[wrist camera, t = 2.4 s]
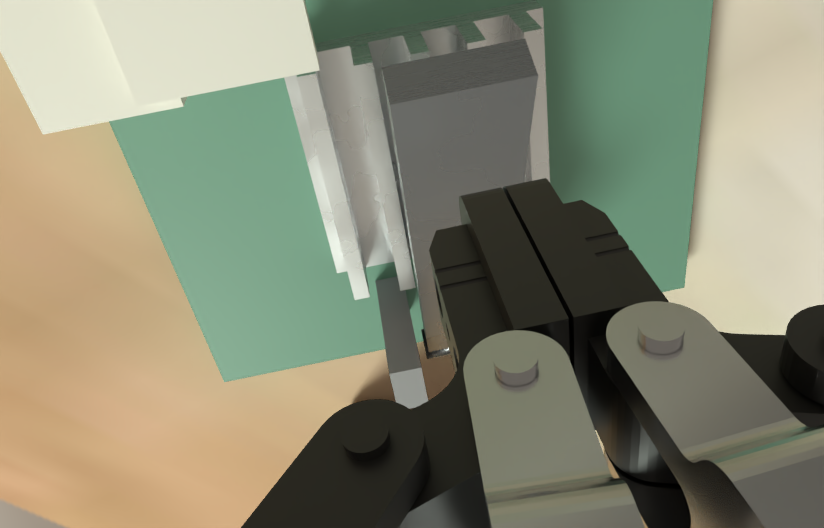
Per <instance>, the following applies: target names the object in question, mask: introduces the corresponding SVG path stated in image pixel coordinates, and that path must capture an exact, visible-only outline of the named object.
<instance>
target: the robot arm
mask: <svg viewBox="0 0 824 528" xmlns="http://www.w3.org/2000/svg"><path fill="white" fill-rule="evenodd" d="M459 208H460V216H461V223H462V225H459V226H455V227H450V228H445V229H440V230H436V232H435V235H434V238H433V240H432V243H431V246H430V249H429V253H430V259H431V265H432V271H433V277H434V283H435V289H436V295H437V300H438V306H439V312H440V318H441V322H442V325H443V329H444V333H445V336H446V339H447V344H448V347H449V351H450V354H451V357H452V362H453V365H454V369H455V373H456V374H455V376H454V378H453V379H452V381H451V382H450V383H449V385H448V386H447V387H446V388H445V389H444V390H443V391H442V392H441V393H439V394H438V395H437V396H436V397H434V398H432V399H431V400H429V401H427V402H425V403H423V404H422V405H420V406H418V407H416V408H414V409H412V410H410V409H409V408H407V407H406V406H404V405H402V404H399V403H397V402H393V401H389V400H381V399H375V400H366V401H360V402H357V403H354V404H351V405H349V406H347V407H344V408H343V409H341V410H339V411H338V412H336V413H335V414H333V415H332V416H331V417H330V418H329V419H328V420H327V421H326V422H325V423H324V424H323V425H322V426H321V427H320V429H319V430H318V431H317V433H316V434H315V435H314V436H313V438H312V439H311V440H310V441H309V443H308V444H307V445H306V446H305V448H304V449H303V450H302V451H301V453H300V454H299V455H298V456H297V458H296V459H295V460H294V461H293V463H292V464H291V465H290V467H289V468H288V469H287V470H286V472H285V473H284V474H283V475H282V477H281V478H280V479H279V480H278V482H277V483H276V484H275V485H274V487H273V488H272V489H271V490H270V492H269V493H268V494H267V496H266V497H265V498H264V499H263V501H262V502H261V503H260V504H259V506H258V507H257V508H256V509H255V511H254V512H253V513H252V514H251V516H250V517H249V518H248V519H247V521H246V522H245V523H244V525H243V526H242V527H241V528H824V305H817V306H813V307H809V308H807V309H804V310H802V311H800V312H799V313H797V314H796V315H794V317H793V318H792V319H791V320H790V322H789V324H788V326H787V330H786V335H752V334H731V333H724V332H718V331H717V330H716V328H715V327H714V326H713V325H712V324H711V323H710V322H709V321H708V320H707V319H706V318H705V317H704V316H702V315H701V314H699V313H698V312H696V311H694V310H692V309H690V308H688V307H685V306H682V305H679V304H675V303H670V302H668V300H667V299H666V297H665V296H664V295H663V293H662V292H661V290H660V289H659V288H658V286H657V285H656V283H655V282H654V281H653V279H652V278H651V276H650V275H649V274H648V272H647V271H646V269H645V268H644V267H643V265H642V264H641V262H640V261H639V260H638V258H637V257H636V255H635V254H634V253H633V251H632V250H629V246H628V244H627V243H626V241H625V240H624V239H623V237H622V236H621V235H619V234H618V230H617V229H616V227H615V226H614V225H613V223H612V222H611V221H610V219H609V218H608V216H607V215H606V214H605V213H604V212H602V211H601V210H599V209H597V208H595V207H594V206H592V205H590V204H588V203H587V202H585V201H583V200H579V201H574V202H569V203H564V204H563V203H562V201H561V200H560V198H559V196H558V195H557V193H556V192H555V190H554V189H553V187H552V185H551V184H550V182H549V181H548V180H547V179H546V178H543V179H538V180H533V181H528V182H524V183H519V184H514V185H509V186H504V187H503V189H502V188H501V187H500V188H495V189H491V190H486V191H481V192H476V193H471V194H466V195H462V196H459ZM595 430H597V432H598V435H599V437H600V439H601V441H602V443H603V445H604V454H603V451H602V448H601V446H600V443H599V440H598V437H597V435H596V432H595Z"/></svg>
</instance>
